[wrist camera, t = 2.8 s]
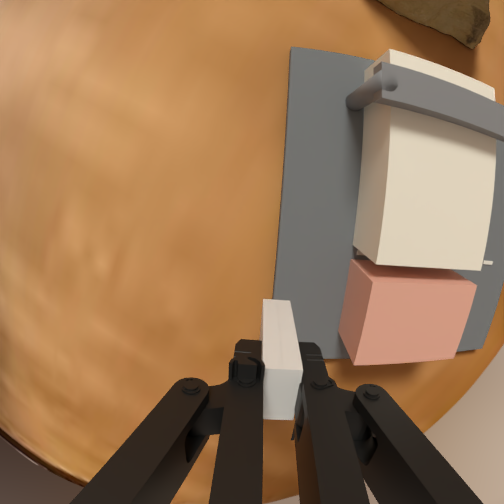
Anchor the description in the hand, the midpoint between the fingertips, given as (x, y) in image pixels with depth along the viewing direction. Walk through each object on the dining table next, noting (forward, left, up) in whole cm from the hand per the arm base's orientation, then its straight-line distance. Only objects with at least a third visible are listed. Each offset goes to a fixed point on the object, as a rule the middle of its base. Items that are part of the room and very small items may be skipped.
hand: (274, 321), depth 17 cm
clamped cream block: (+9, +10, -4) cm, 14 cm away
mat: (+11, +6, -5) cm, 13 cm away
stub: (+9, 0, -4) cm, 10 cm away
